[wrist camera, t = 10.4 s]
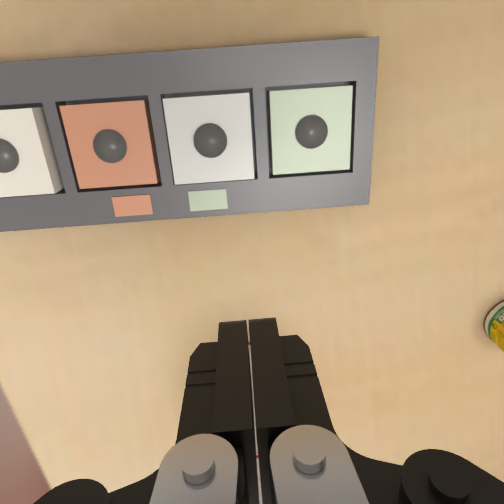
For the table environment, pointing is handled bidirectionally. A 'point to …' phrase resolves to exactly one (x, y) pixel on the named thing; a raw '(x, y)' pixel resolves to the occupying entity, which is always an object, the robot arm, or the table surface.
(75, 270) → the table surface
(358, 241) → the table surface
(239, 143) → the key white
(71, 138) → the key terracotta
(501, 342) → the supplement bottle
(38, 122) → the key cream
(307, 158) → the key sage
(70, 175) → the grey flat board
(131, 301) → the table surface
